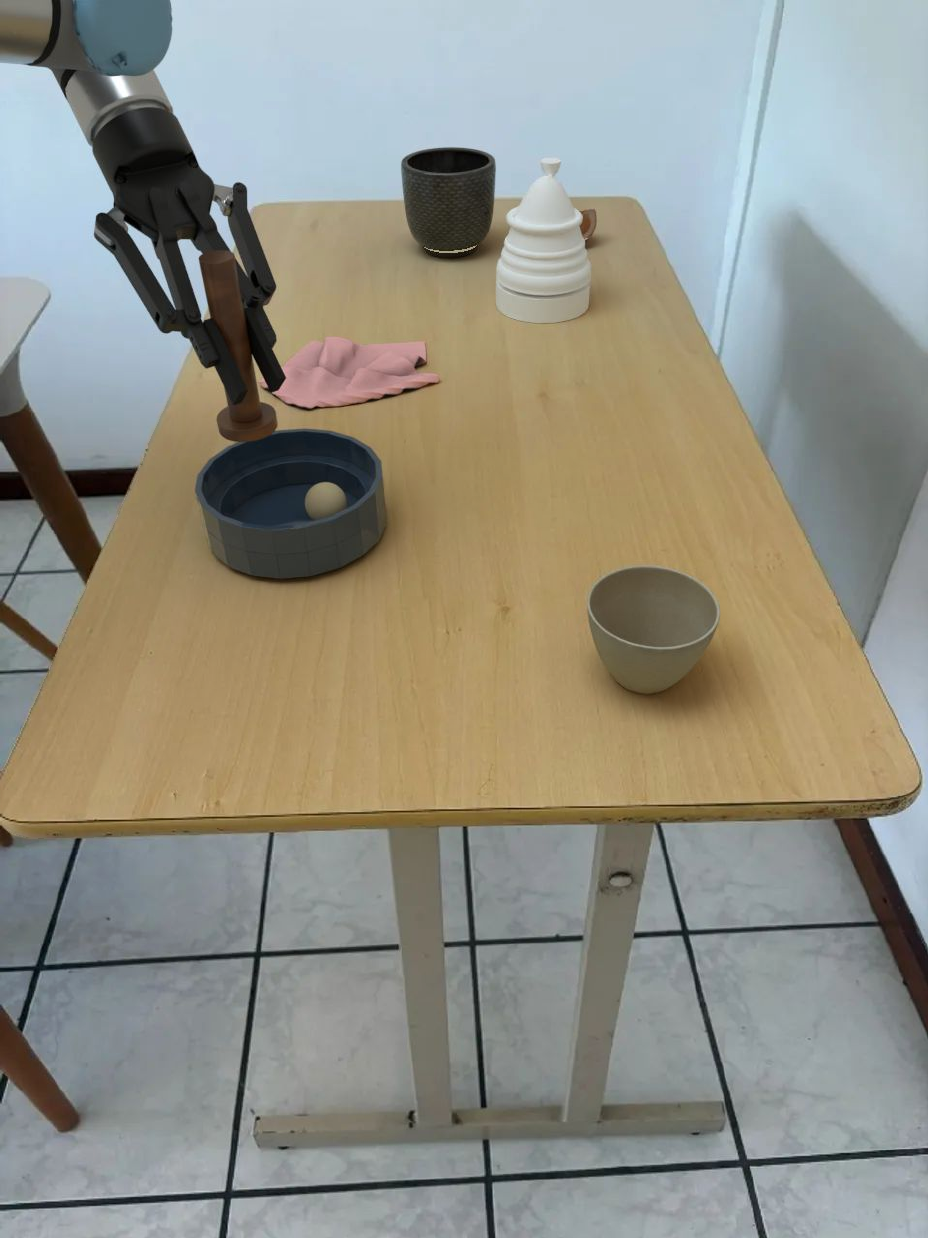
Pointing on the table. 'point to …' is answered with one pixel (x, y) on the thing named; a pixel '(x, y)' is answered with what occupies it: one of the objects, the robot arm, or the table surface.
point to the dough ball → (325, 500)
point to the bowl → (290, 503)
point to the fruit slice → (588, 223)
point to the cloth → (351, 372)
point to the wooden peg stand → (235, 349)
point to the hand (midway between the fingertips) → (259, 391)
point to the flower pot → (651, 625)
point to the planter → (449, 198)
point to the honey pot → (544, 256)
